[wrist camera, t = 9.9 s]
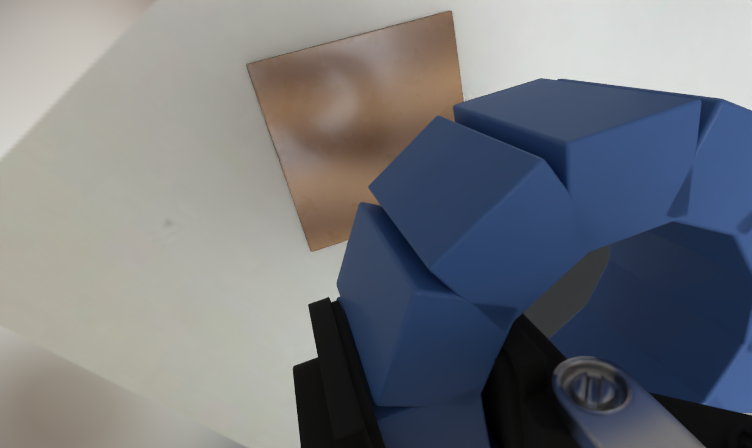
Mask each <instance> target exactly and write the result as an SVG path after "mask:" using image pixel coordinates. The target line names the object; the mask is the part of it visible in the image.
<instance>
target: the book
mask: <svg viewBox="0 0 752 448" xmlns="http://www.w3.org/2000/svg"><path fill="white" fill-rule="evenodd" d="M608 261H609V245H607V246H605V247H602V248H599V249H596V250H594V251H591V252H588V253H587V254H586V255H585V256H584V257H583V258H582V259H581V260H580V261H579V262H577V263H576V264H575V265H574V266H573V267H572V268H571V269H570V270H569V271H568V272H567V273H566V274H564V275H563V276H562V277H561V278H560V279H559V280H558V281H557V282H556V283H555V284H554V285H553V286H551V287H550V288H549V289H548V290H547V291H546V292H545V293H544V294H543V295H542V296H541V297H540V298H538V299H537V300H536V301H535V302H534V303H533V304H532V305H531V306H530V307H529V308H528V309H527V310H525V311H524V312H523V314H524V315H525V316H526V317H527V318H528V319H529V320H530V321H531V322H532V323H533V324H534V325H535V326H536V327H537V328H538V329H539V330H540V331H541V332H542V333H543V334H544V335H545V336H546V337H547V338H548V339H549V338H550V337H551V336H552V335H553V334H554V333H555V332H557V331H558V330H559V329H560V328H561V327H562V326H563V325H564V324H565V323H567V322H568V321H569V320H570V319H571V318H572V317H573V316H574V315H575V314H576V313H578V312H579V311H580V310H581V309H582V308H583V307H584V306H585V305H586V304H587V302H588V300H589V298H590V296H591V294H592V292H593V290H594V288H595V286H596V284H597V282H598V280H599V278H600V276H601V274H602V272H603V271H604V269H605V267H606V265H607V263H608Z"/></svg>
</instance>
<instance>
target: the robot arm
mask: <svg viewBox="0 0 752 448" xmlns="http://www.w3.org/2000/svg"><path fill="white" fill-rule="evenodd" d="M308 306H309V312H310V317H311V322H312V327H313V333H314V338H315V343H316V348H317V354H318V357H317V358H315V359H312V360H309V361H306V362H304V363H301V364H298V365H295V366H294V367H293V376H294V386H295V395H296V405H297V414H298V424H299V433H300V443H301V448H386V447H385V444H384V441H383V438H382V435H381V432H380V429H379V426H378V423H377V420H376V416H375V413H374V410H373V407H372V404H371V400H370V397H369V394H368V391H367V388H366V385H365V381H364V378H363V375H362V372H361V369H360V365H359V362H358V359H357V356H356V353H355V349H354V346H353V343H352V340H351V337H350V333H349V330H348V327H347V324H346V321H345V317H344V314H343V311H342V308H341V305H340V302H339V300H337V301H334V302H331V301H330V298H329V297H328V298H325V299H322V300H319V301H316V302H314V303H311V304H308ZM481 396H482V402H483V408H484V413H485V419H486V424H487V426H488V428H489V429H490V431H491V433H492V434H493V436H494V438H495V439H496V441H497V443H498V445H499V446H500V448H752V415H747V414H743V413H739V412H734V411H730V410H726V409H721V408H717V407H712V406H708V405H704V404H699V403H695V402H690V401H686V400H682V399H677V398H673V397H668V396H664V395H660V394H655V393H651V392H648V391H647V390H646V389H644V388H643V387H642V386H641V385H640V384H639V383H638V382H637V381H636V380H635V379H634V378H633V377H632V376H631V375H630V374H629V373H628V372H626V371H625V370H624V369H622V368H621V367H620V366H618V365H617V364H615V363H613V362H610V361H608V360H606V359H602V358H598V357H593V356H578V357H574V358H569V359H567V358H566V357H565V356H564V355H563V354H562V353H561V352H560V351H559V350H558V349H557V348H556V347H555V346H554V345H553V343H552V342H551V341H550V340H549V339H548V338H547V337H546V336H545V335H544V334H543V333H542V332H541V331H540V330H539V329H538V328H537V327H536V326H535V325H534V324H533V323H532V322H531V321H530V320H529V319H528V318H527V317H526V316H525V315H524V314H523V313H522V314H521V315H520V316H519V317H518V318H517V319H516V320H515V321H514V322H513V324H512V326H511V328H510V331H509V333H508V335H507V337H506V340H505V342H504V344H503V346H502V348H501V351H500V353H499V355H498V357H497V358H496V359H495V364H494V366H493V368H492V371H491V373H490V375H489V377H488V379H487V382H486V384H485V386H484V388H483V391H482V393H481Z"/></svg>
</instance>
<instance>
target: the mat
mask: <svg viewBox="0 0 752 448" xmlns="http://www.w3.org/2000/svg"><path fill="white" fill-rule="evenodd" d="M246 66H247V69H248V72H249V74H250V77H251V80H252V83H253V86H254V89H255V92H256V95H257V98H258V100H259V103H260V106H261V109H262V112H263V115H264V118H265V121H266V123H267V126H268V129H269V132H270V135H271V138H272V141H273V144H274V146H275V149H276V152H277V155H278V158H279V161H280V164H281V167H282V170H283V172H284V175H285V178H286V181H287V184H288V187H289V190H290V193H291V195H292V198H293V201H294V204H295V207H296V210H297V213H298V216H299V219H300V221H301V224H302V227H303V230H304V233H305V236H306V239H307V242H308V244H309V247H310V250H311V252H313V251H316V250H319V249H322V248H325V247H328V246H331V245H334V244H337V243H340V242H343V241H346V240H349V237H350V233H351V230H352V226H353V223H354V219H355V215H356V212H357V208H358V205H359V203H360V202H365V203H371V204H376V205H380V203H379V202H378V201H377V199H376V198H375V197H374V195H373V194H372V193H371V191H370V190H369V188H368V186H369V185H370V184H371V183H372V182H373V181H374V180H375V179H376V178H377V177H378V176H379V175H380V174H381V173H382V172H383V170H384V169H385V168H386V167H387V166H388V165H389V164H390V163H391V162H392V161H393V160H394V159H395V158H396V157H397V156H398V155H399V154H400V153H401V152H402V151H403V150H404V149H405V148H406V147H407V146H408V145H409V144H410V143H411V142H412V141H413V140H414V139H415V138H416V137H417V136H418V135H419V134H420V132H421V131H422V130H423V129H424V128H425V127H426V126H427V125H428V124H429V123H430V122H431V121H432V120H433V119H434V118H435V117H436V116H438V115H439V116H442V117H444V118H446V119H449V120H451V121H454V122H455V119H454V112H453V106H454V105H455V104H458V103H462V102H464V101H463V94H462V86H461V78H460V70H459V63H458V55H457V47H456V39H455V31H454V24H453V16H452V11H447V12H443V13H439V14H435V15H432V16H428V17H424V18H420V19H416V20H413V21H409V22H405V23H401V24H397V25H394V26H390V27H386V28H382V29H378V30H375V31H371V32H367V33H363V34H359V35H356V36H352V37H348V38H344V39H340V40H336V41H333V42H329V43H325V44H321V45H317V46H314V47H310V48H306V49H302V50H298V51H295V52H291V53H287V54H283V55H279V56H276V57H272V58H268V59H264V60H260V61H257V62H253V63H249V64H247V65H246Z"/></svg>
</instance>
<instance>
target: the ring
mask: <svg viewBox="0 0 752 448" xmlns="http://www.w3.org/2000/svg"><path fill="white" fill-rule="evenodd" d="M453 112H454V119H455V122H454V121H451V120H449V119H446V118H444V117H442V116H439V115H438V116H436V117H435V118H434V119H433V120H432V121H431V122H430V123H429V124H428V125H427V126H426V127H425V128H424V129H423V130H422V131H421V132H420V134H419V135H418V136H417V137H416V138H415V139H414V140H413V141H412V142H411V143H410V144H409V145H408V146H407V147H406V148H405V149H404V150H403V151H402V152H401V153H400V154H399V155H398V156H397V157H396V158H395V159H394V160H393V161H392V162H391V163H390V164H389V165H388V166H387V167H386V168H385V169H384V170H383V172H382V173H381V174H380V175H379V176H378V177H377V178H376V179H375V180H374V181H373V182H372V183H371V184H370V185H369V186H368V188H369V190H370V191H371V193H372V194H373V195H374V197H375V198H376V199H377V201H378V202H379V203H380V205H376V204H371V203H365V202H360V203H359V205H358V208H357V212H356V215H355V219H354V223H353V226H352V230H351V233H350V237H349V241H348V244H347V248H346V251H345V255H344V258H343V262H342V266H341V269H340V273H339V276H338V280H337V288H338V291H339V294H340V297H338V298H337V300H339V302H340V305H341V308H342V311H343V314H344V317H345V321H346V324H347V327H348V330H349V333H350V337H351V340H352V343H353V346H354V349H355V353H356V356H357V359H358V362H359V365H360V369H361V372H362V375H363V378H364V381H365V385H366V388H367V391H368V394H369V397H370V400H371V404H372V407H373V410H374V413H375V416H376V420H377V423H378V426H379V429H380V432H381V435H382V438H383V441H384V444H385V447H386V448H500V446H499V445H498V443H497V441H496V439H495V438H494V436H493V434H492V433H491V431H490V429H489V428H488V426H487V424H486V419H485V413H484V408H483V402H482V396H481V393H482V391H483V388H484V386H485V384H486V382H487V379H488V377H489V375H490V373H491V371H492V368H493V366H494V364H495V359H496V358H497V357H498V355H499V353H500V351H501V348H502V346H503V344H504V342H505V340H506V337H507V335H508V333H509V331H510V328H511V326H512V324H513V322H514V321H515V320H516V319H517V318H518V317H519V316H520V315H521V314H522V313H523V312H524V311H525V310H527V309H528V308H529V307H530V306H531V305H532V304H533V303H534V302H535V301H536V300H537V299H538V298H540V297H541V296H542V295H543V294H544V293H545V292H546V291H547V290H548V289H549V288H550V287H551V286H553V285H554V284H555V283H556V282H557V281H558V280H559V279H560V278H561V277H562V276H563V275H564V274H566V273H567V272H568V271H569V270H570V269H571V268H572V267H573V266H574V265H575V264H576V263H577V262H579V261H580V260H581V259H582V258H583V257H584V256H585V255H586V254H587V253H588V252H591V251H594V250H596V249H599V248H602V247H605V246H607V245H609V261H608V263H607V265H606V267H605V269H604V271H603V272H602V274H601V276H600V278H599V280H598V282H597V284H596V286H595V288H594V290H593V292H592V294H591V296H590V298H589V300H588V302H587V304H586V305H585V306H584V307H583V308H582V309H581V310H580V311H579V312H578V313H576V314H575V315H574V316H573V317H572V318H571V319H570V320H569V321H568V322H567V323H565V324H564V325H563V326H562V327H561V328H560V329H559V330H558V331H557V332H555V333H554V334H553V335H552V336H551V337H550V338H549V340H550V341H551V342H552V343H553V345H554V346H555V347H556V348H557V349H558V350H559V351H560V352H561V353H562V354H563V355H564V356H565V357H566V358H567V359H569V358H574V357H578V356H593V357H598V358H602V359H606V360H608V361H610V362H613V363H615V364H617V365H618V366H620V367H621V368H622V369H624V370H625V371H626V372H628V373H629V374H630V375H631V376H632V377H633V378H634V379H635V380H636V381H637V382H638V383H639V384H640V385H641V386H642V387H643V388H644V389H646V390H647V391H648V392H651V393H655V394H660V395H664V396H668V397H673V398H677V399H682V400H686V401H690V402H695V403H699V404H704V405H708V406H712V407H717V408H721V409H726V410H730V411H734V412H739V413H752V111H751V110H749V109H746V108H744V107H741V106H739V105H736V104H734V103H731V102H729V101H726V100H724V99H719V98H711V97H703V96H695V95H687V94H679V93H671V92H663V91H655V90H647V89H639V88H631V87H623V86H615V85H607V84H600V83H592V82H584V81H576V80H568V79H558V80H550V79H543V78H541V79H537V80H534V81H531V82H527V83H524V84H521V85H518V86H514V87H511V88H508V89H504V90H501V91H498V92H495V93H491V94H488V95H485V96H481V97H478V98H475V99H472V100H468V101H465V102H462V103H458V104H455V105H454V106H453Z"/></svg>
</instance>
